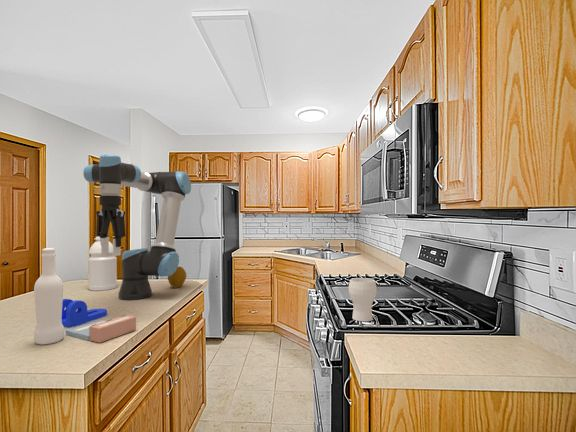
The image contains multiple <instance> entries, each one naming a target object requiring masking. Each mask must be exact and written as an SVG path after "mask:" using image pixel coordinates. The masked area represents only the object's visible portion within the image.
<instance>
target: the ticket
mask: <svg viewBox="0 0 576 432" xmlns="http://www.w3.org/2000/svg"><path fill="white" fill-rule="evenodd" d="M108 320H109V319H99V320H97V321H96V320H95V321H94V322H88V323H85V324H82V325H78V326H75V327H71V328H68V329H66V330H65V335H66V336H68V337H71V338H72V337H73V338H77V339H80V340H84V341H90V340H89V326H91V325H95V324H99V323H102V322H105V321H108Z"/></svg>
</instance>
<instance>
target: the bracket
mask: <svg viewBox="0 0 576 432" xmlns="http://www.w3.org/2000/svg"><path fill="white" fill-rule="evenodd" d="M106 316H108V310H107V308H93V309H88V305H87V302H85V301H84V300H78V299H77V300H73V299H71V298H70V299H69V298H63V302H62V325H63V327H64V328H68V329H72V328H75V327H79V326H82V325H85V324H88V323H91V322H92V321H96V320H98V319H99V320H100V319H102V318H105V317H106Z"/></svg>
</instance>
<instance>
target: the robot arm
mask: <svg viewBox="0 0 576 432" xmlns="http://www.w3.org/2000/svg"><path fill="white" fill-rule="evenodd" d="M83 178H84V180H85V181H86V182H88V183H94V184H96V183H99V194H100V195H99V206H101V210H97V211H96V237H98V236H99V237H100V238H101V255H107V254H109V241H110V236H109V235H108V233H109V230H110V229H109V228H110V224H111V227H112V232H113V233H112V234H113V237H112V244H113V256H116V257H117V256H121V252H122V251H121V248H122V247H121V246H122V238H125V237H126V222H125V215H126V211H125V210H121V209H120V206H121V205H122V196H121V195H122V187H128V188H134V189H138V190H139V191H142V192H147V193H150V194H151V193H152V194H156V195H161V197H162V198H163V199H162V204H161V205H162V206H161V210H160V216H159V221H158V227H157V231H156V232H157V233H156V236H155V237H156V238H155V242H154V244H152V245H151V247H150V251H149V249H148V248H146V247H144V248H137V249H130V250H129V249H128V250H125V251H123V252H122V257H121V269H122V270H121V273H122V276H121V277H122V280H121V285H120V288H119V292H118V295H117V296H118V299H120V300H127V301H133V300H140V299H141V300H143V299H145V298H150V297H151V296H152V295H153V289H152V287H151V284H150V281H149V276H150V277H153V276H155V277H156V276H157V277H168V276H170V275H172V274H173V273H174V272H175V271H176V270H177V267H179V264H180V255H179V254H178V253H177V249H176V248H175V246H174V244H175V238H176V233H177V227H178V220H179V216H180V215H179V214H180V208H181V205H182V204H181V203H182V201H184V200H185V198H186V195H189V194H190V193H191V190H192V182H191V179H190V176H189V175H188V173H186V171H178V170H177V171H154V172H146V171H143V172H141V169H140V167H138V166H137V165H134V164H132V163H125V162H122V159H121V156H120V155H116V154H101V155H100V156H99V163H98V164H94V163H93V164H88V165H86V166H85V167H84V168H83ZM107 237H109V238H107Z"/></svg>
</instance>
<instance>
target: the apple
mask: <svg viewBox="0 0 576 432" xmlns="http://www.w3.org/2000/svg"><path fill="white" fill-rule="evenodd" d="M186 279H187V272H186V269H184V267H182V266H178V267H177V270H176V271H175V272H174V273H173V274H172V275H170V276H167V280H168V284H169V286H170V287H172V288H174V289H177V288H181V287H182V286H183V285H184V283H185V281H186Z"/></svg>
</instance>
